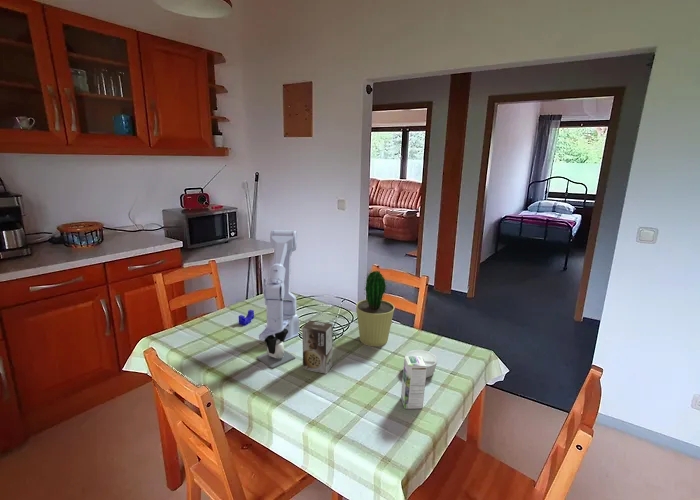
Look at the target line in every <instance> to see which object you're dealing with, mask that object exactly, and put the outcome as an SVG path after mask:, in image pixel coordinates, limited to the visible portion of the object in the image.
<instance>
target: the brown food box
mask: <svg viewBox="0 0 700 500" xmlns="http://www.w3.org/2000/svg"><path fill="white" fill-rule="evenodd" d="M333 327H334V326H333V323H329V322H324V321H323V322H322V321H318V320H317V321H316V320H309V321H307V322H306V323H305V324H304V325H303V326H302V327H301V330H302V331H301V333H302V337H301V338H302V369H303V370H306V371H311V372H316V373H321V374H324V375H326V374H327V373H329V371H330V369H331V368H332V367H333V338H334V337H333V332H334V331H333V329H334V328H333Z"/></svg>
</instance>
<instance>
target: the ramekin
mask: <svg viewBox="0 0 700 500" xmlns="http://www.w3.org/2000/svg"><path fill="white" fill-rule="evenodd" d="M405 356H422V357H423V359H424V361H425V364H426V366H427V370H426V379H427V378H430V377H431V376H433V374H434V372H435V371H436V366H437V364H438V358H437V356H436V355H435V354H433V353H432V352H430V351H427V350H423V349H412V350H409V351H408V352H406V353H405ZM405 356H404V357H405Z"/></svg>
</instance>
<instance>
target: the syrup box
mask: <svg viewBox="0 0 700 500" xmlns="http://www.w3.org/2000/svg"><path fill="white" fill-rule="evenodd" d="M426 370H427V366H426V364H425V361H424V359H423V357H422V356H404V358H403V369H402V380H401V381H402V382H401V393H400V397H401V402H402V405H403V408H404V409H405V410H410V409H411V410H414V409H415V410H416V409H423V408H424V400H425V399H424V398H425V388H426V382H427V380H426V379H427V378H426Z"/></svg>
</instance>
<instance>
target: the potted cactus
mask: <svg viewBox="0 0 700 500" xmlns="http://www.w3.org/2000/svg"><path fill="white" fill-rule="evenodd" d="M368 272H369V271H368ZM364 282H365V283H364V284H365V286H364V288H363V290H364V291H365V292H364V295H366V299H363V300H359V301H358V302H357V303H356V305H355V306H356V315H357V324H358V327H357V328H358V335H359V340H360V342H361V343H362V344H363V345H366V346H369V347H381V346H384V345H386V344H387V343H388V341H389V340H388V339H389V336H390V331H391V325H392V322H393V321H392V320H393V316H394V311H395V308H396V307H395V305H394V304H393V303H392V302H390V301H387V300H384V298H385V293H386V291H387V288H388V287H387V286H388V285H387V284H388V282H387V281H386V278H385V276H384V275H383V273H381V271H380V270H372V271H370V272H369V273H368V274H367V276H366V280H364Z"/></svg>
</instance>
